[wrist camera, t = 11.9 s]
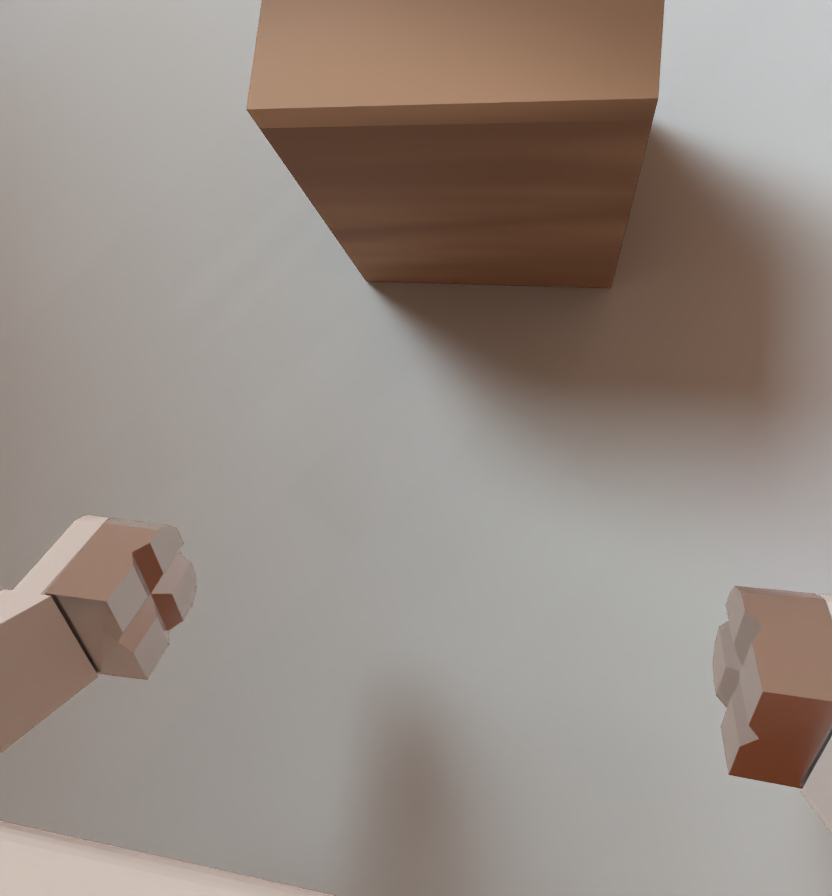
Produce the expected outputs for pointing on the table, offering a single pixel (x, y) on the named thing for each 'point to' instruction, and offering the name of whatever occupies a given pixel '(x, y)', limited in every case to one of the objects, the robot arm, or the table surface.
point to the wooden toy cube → (464, 130)
